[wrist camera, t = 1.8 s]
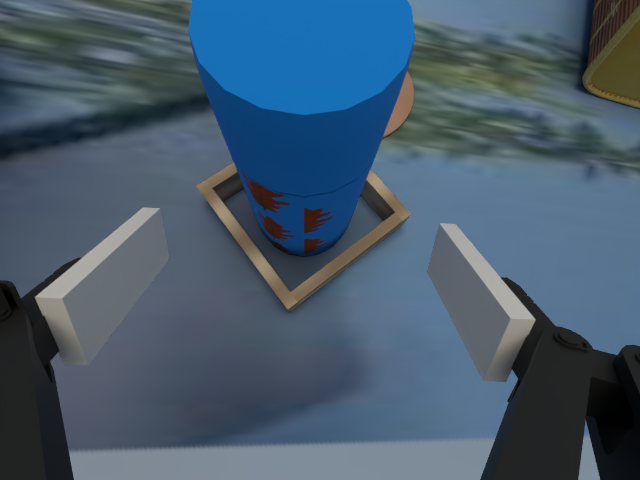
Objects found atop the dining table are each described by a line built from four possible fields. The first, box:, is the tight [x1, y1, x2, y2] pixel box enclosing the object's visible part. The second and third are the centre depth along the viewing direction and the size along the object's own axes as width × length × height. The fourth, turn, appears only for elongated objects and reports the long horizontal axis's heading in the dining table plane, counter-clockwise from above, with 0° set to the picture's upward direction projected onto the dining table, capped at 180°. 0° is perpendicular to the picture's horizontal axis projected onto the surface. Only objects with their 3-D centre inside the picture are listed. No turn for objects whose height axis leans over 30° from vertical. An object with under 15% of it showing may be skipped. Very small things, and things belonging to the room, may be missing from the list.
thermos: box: [188, 0, 415, 256], centre depth 27 cm, size 11×11×25 cm
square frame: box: [197, 163, 411, 313], centre depth 37 cm, size 16×16×4 cm
